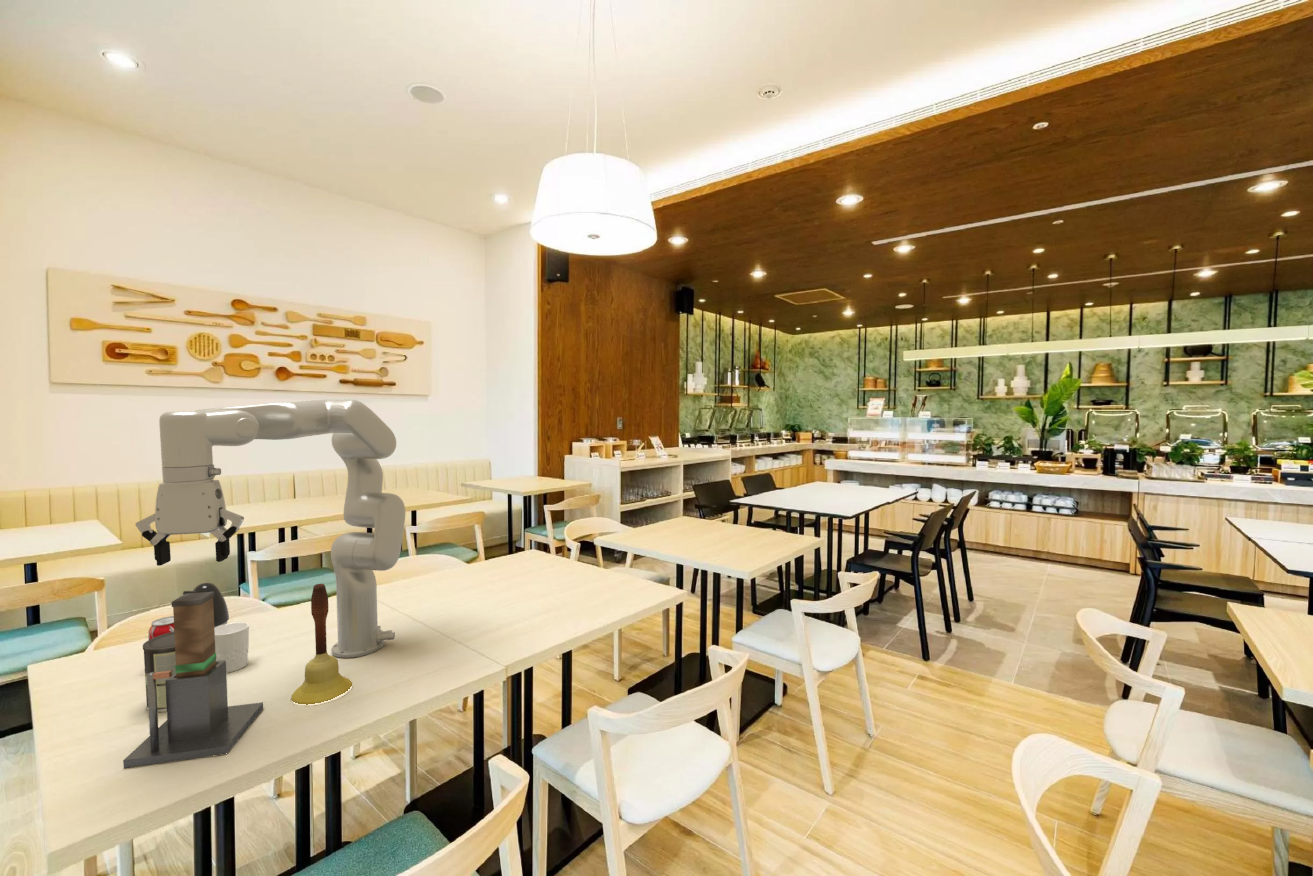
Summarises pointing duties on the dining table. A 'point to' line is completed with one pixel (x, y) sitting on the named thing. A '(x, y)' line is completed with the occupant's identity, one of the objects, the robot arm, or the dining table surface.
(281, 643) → the dining table surface
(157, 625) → the soda can
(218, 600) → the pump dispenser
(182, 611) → the walnut post
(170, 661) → the coffee can
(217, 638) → the white cup
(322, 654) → the handbell
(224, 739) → the steel stand
